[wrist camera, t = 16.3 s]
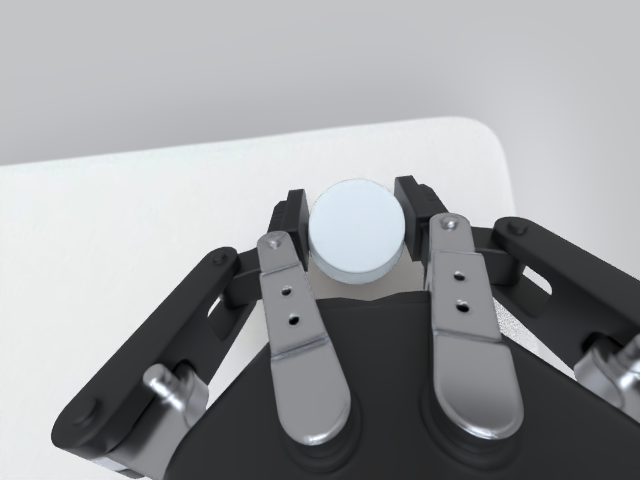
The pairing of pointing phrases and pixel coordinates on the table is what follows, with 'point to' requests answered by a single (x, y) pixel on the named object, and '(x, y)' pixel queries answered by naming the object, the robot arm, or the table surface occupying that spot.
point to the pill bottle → (356, 231)
